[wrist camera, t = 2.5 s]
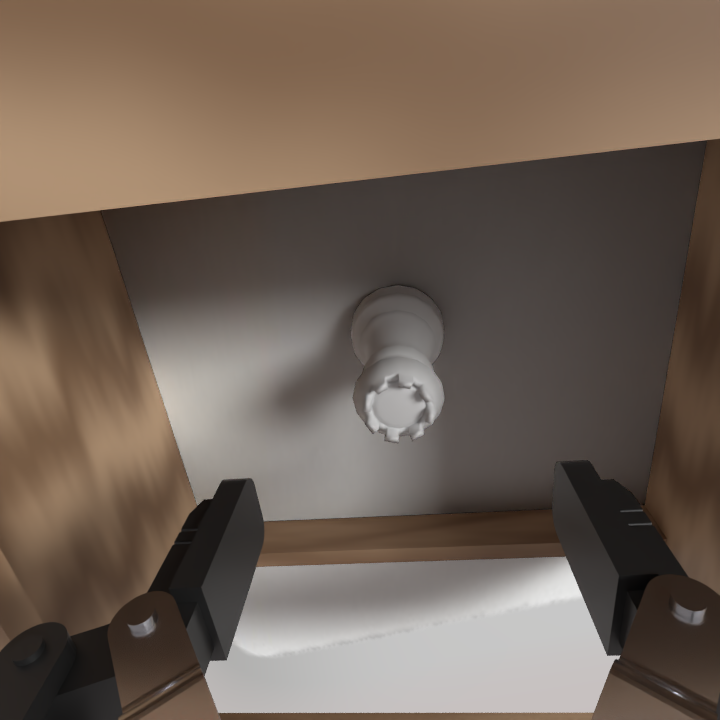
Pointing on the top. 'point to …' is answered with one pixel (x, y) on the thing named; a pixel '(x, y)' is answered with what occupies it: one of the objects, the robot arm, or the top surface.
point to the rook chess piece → (398, 361)
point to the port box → (291, 170)
